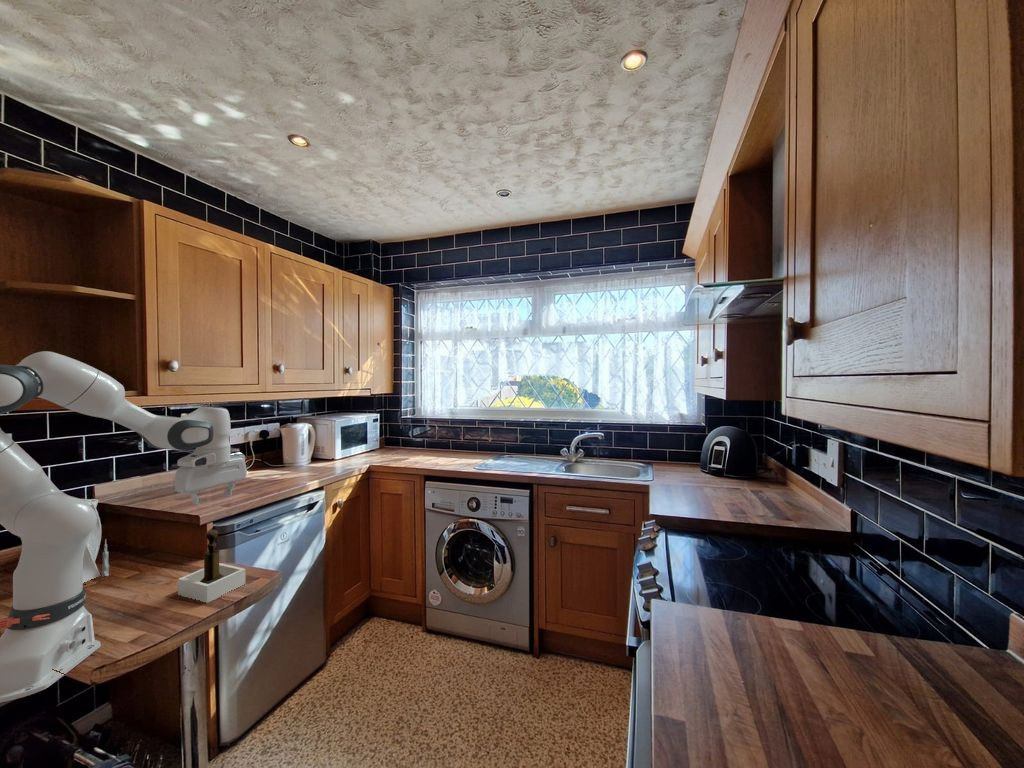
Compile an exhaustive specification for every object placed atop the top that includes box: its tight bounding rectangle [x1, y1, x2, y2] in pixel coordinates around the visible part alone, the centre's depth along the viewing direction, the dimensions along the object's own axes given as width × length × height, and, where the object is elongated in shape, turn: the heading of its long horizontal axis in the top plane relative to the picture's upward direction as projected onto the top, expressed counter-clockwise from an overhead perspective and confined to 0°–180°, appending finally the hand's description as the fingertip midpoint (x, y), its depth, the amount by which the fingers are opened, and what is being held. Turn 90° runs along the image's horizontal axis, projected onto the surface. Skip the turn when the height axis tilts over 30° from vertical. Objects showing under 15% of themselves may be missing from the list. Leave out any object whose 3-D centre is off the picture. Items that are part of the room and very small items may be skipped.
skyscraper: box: [81, 498, 111, 583], centre depth 134 cm, size 8×8×28 cm
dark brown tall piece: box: [200, 529, 224, 584], centre depth 129 cm, size 7×6×18 cm
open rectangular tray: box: [177, 562, 246, 604], centre depth 129 cm, size 12×13×5 cm
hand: (213, 499), depth 129 cm, fingers open, 8 cm apart
